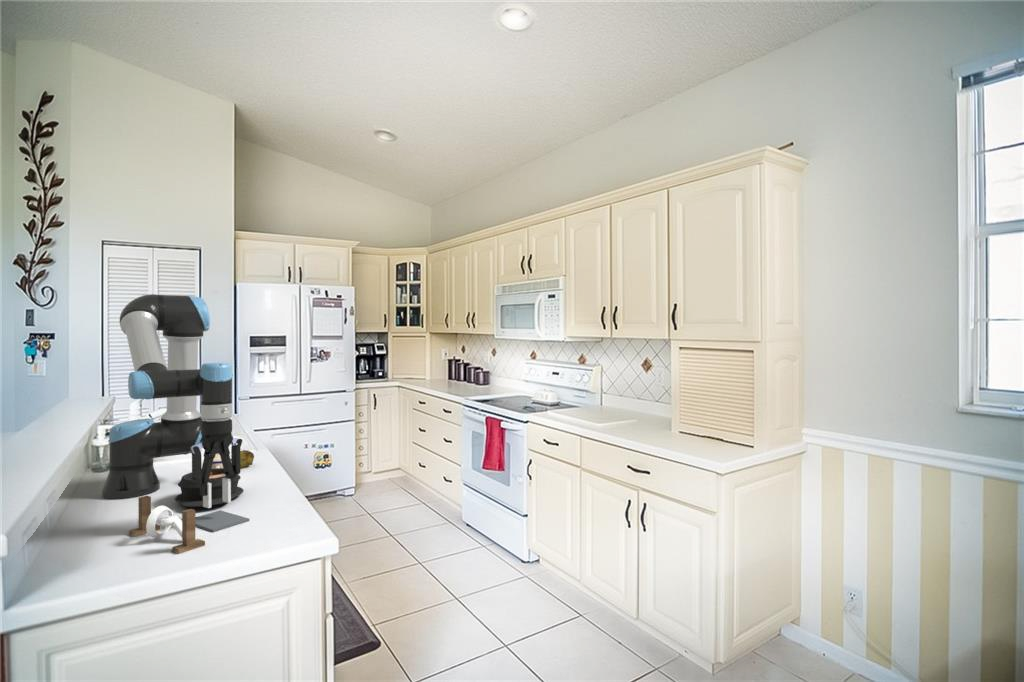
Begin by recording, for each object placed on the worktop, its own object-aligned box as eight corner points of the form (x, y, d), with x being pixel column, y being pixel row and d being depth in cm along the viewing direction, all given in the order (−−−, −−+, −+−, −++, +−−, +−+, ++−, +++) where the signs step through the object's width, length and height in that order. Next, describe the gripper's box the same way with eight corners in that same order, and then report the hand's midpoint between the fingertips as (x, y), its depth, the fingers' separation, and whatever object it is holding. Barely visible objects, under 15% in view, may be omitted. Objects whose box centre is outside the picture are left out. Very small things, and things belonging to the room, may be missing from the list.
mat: (184, 522, 144) (184, 520, 144) (220, 512, 153) (220, 510, 153) (213, 532, 137) (213, 529, 137) (249, 520, 146) (249, 518, 146)
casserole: (181, 493, 172) (181, 467, 172) (245, 487, 180) (245, 462, 180) (167, 517, 149) (167, 487, 149) (241, 508, 157) (241, 480, 157)
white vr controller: (158, 562, 127) (173, 539, 126) (132, 528, 131) (146, 505, 130) (186, 554, 134) (200, 532, 133) (161, 521, 138) (174, 500, 137)
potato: (216, 472, 199) (215, 451, 199) (254, 468, 205) (254, 447, 205) (214, 477, 192) (214, 455, 192) (254, 473, 198) (254, 452, 198)
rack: (128, 534, 136) (128, 499, 136) (154, 527, 141) (154, 493, 141) (179, 553, 123) (178, 515, 123) (205, 545, 129) (204, 508, 129)
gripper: (190, 424, 136) (191, 515, 136) (255, 416, 151) (255, 498, 151) (175, 422, 139) (175, 511, 139) (239, 414, 155) (239, 494, 155)
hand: (217, 504), depth 145 cm, fingers open, 5 cm apart
